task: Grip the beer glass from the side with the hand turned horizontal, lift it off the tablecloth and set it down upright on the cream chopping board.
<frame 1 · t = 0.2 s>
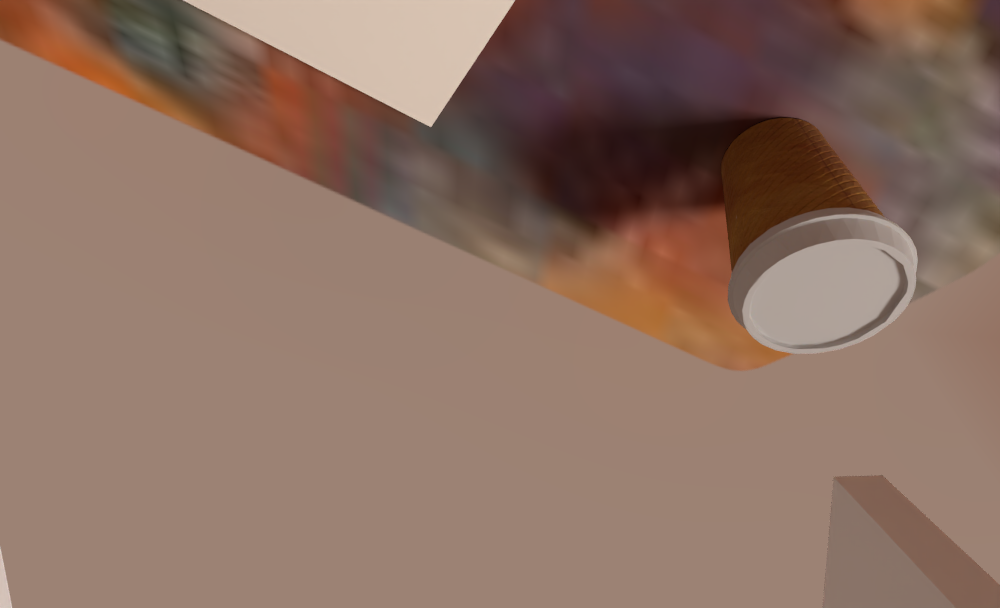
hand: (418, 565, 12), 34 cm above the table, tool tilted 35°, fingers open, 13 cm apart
disposable coffee cup: (771, 158, 49), on the table
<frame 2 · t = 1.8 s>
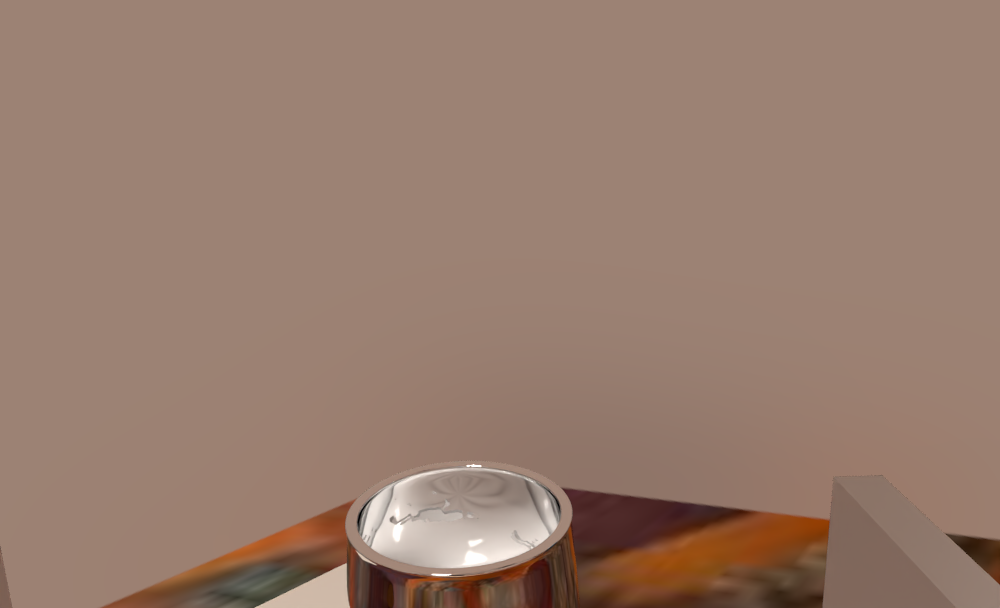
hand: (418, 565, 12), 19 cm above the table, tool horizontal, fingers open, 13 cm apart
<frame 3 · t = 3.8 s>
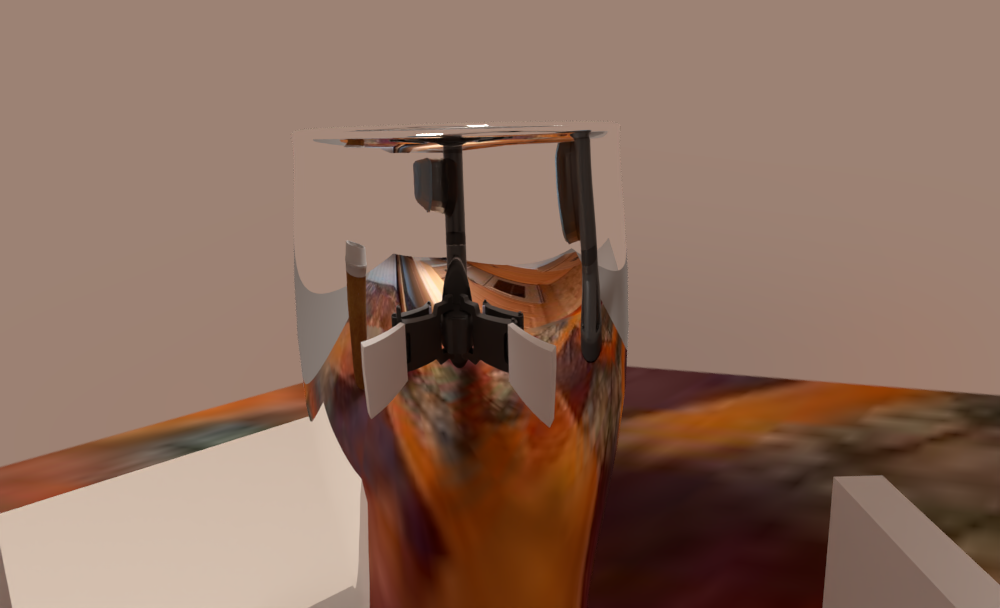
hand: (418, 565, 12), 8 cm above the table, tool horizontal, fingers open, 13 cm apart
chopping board: (244, 553, 28), on the table
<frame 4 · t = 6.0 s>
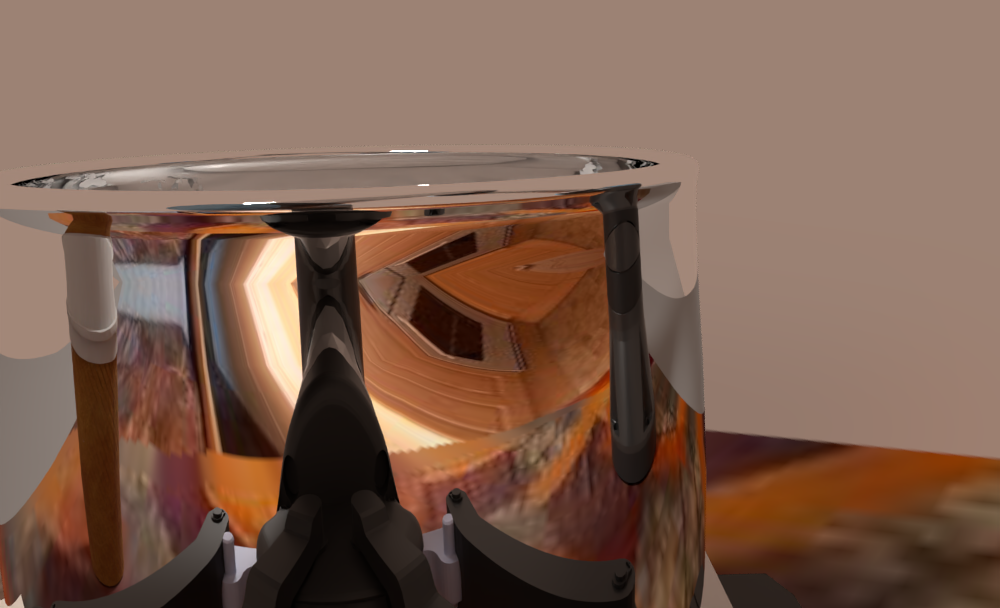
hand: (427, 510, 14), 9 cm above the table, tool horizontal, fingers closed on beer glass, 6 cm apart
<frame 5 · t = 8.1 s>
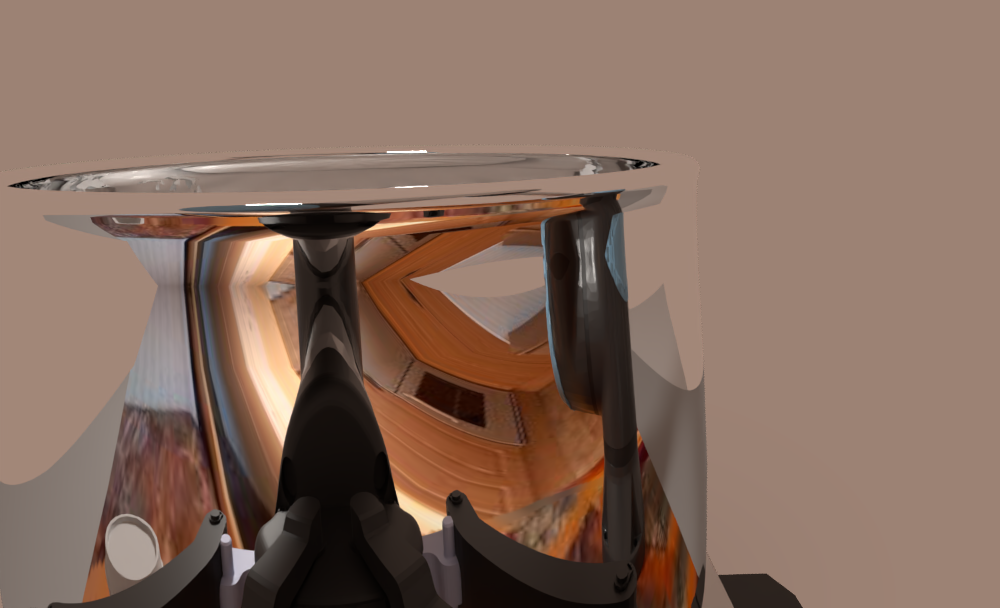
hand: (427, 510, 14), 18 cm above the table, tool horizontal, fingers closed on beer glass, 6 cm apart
when the fingers open (11 cm above the table, at t = 10.5 s): beer glass drops 1 cm, resting on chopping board.
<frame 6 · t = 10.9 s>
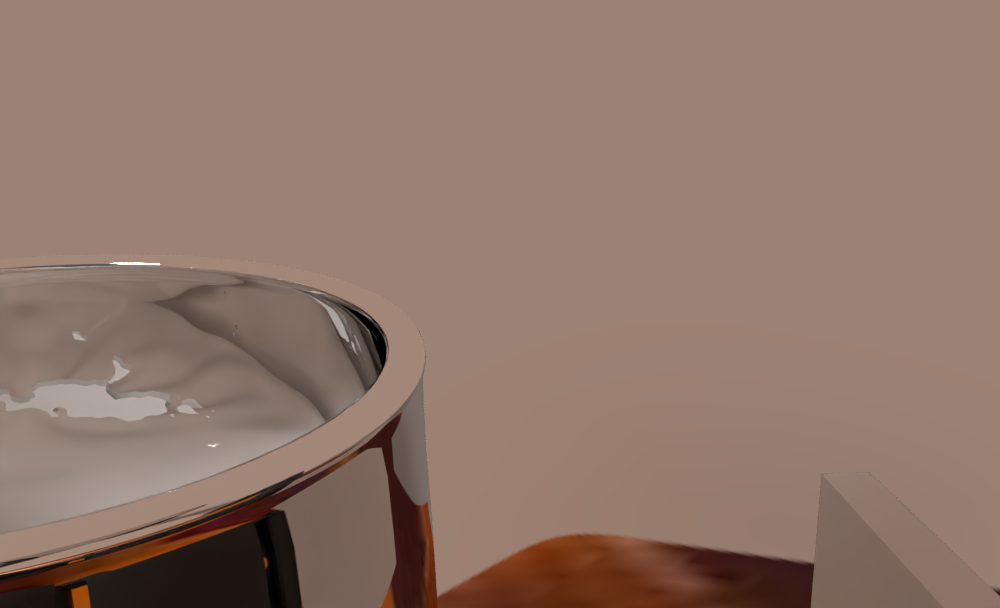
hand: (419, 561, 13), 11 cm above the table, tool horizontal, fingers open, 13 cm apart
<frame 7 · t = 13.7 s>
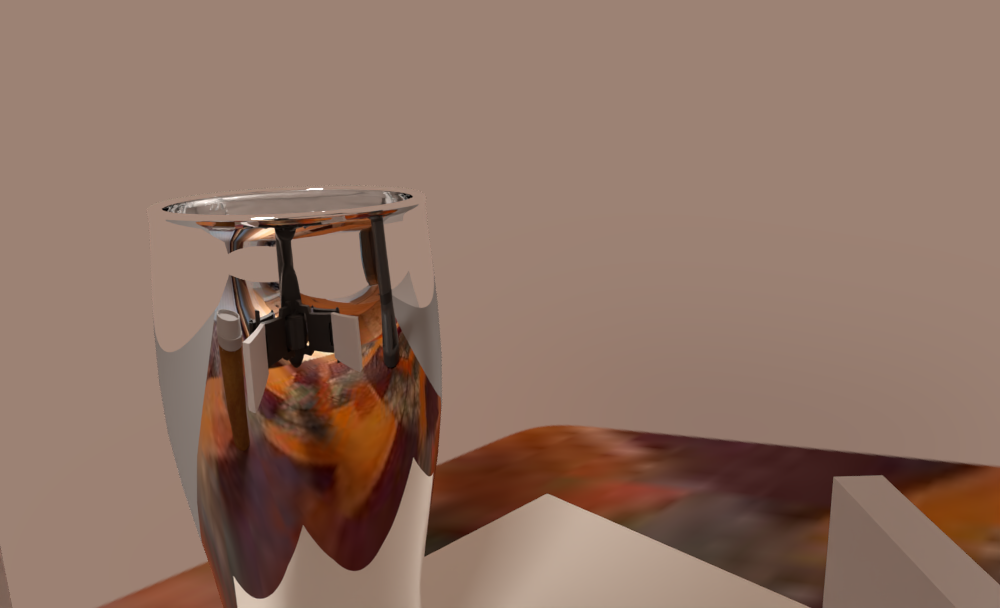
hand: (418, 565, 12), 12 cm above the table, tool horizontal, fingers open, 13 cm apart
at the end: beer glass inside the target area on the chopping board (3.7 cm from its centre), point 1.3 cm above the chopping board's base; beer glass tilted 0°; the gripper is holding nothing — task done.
